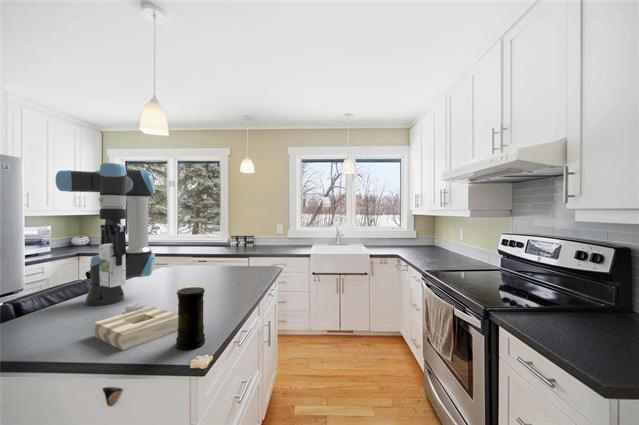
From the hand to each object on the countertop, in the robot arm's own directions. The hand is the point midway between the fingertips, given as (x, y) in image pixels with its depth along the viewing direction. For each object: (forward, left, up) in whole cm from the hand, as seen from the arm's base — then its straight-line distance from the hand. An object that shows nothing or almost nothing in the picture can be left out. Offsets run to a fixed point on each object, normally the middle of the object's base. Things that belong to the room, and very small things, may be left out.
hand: (112, 273), depth 101 cm
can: (+3, +28, -22) cm, 36 cm away
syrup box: (0, 0, -4) cm, 4 cm away
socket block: (+4, +7, -22) cm, 23 cm away
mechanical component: (-16, +16, -23) cm, 32 cm away
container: (+28, +11, -22) cm, 38 cm away
